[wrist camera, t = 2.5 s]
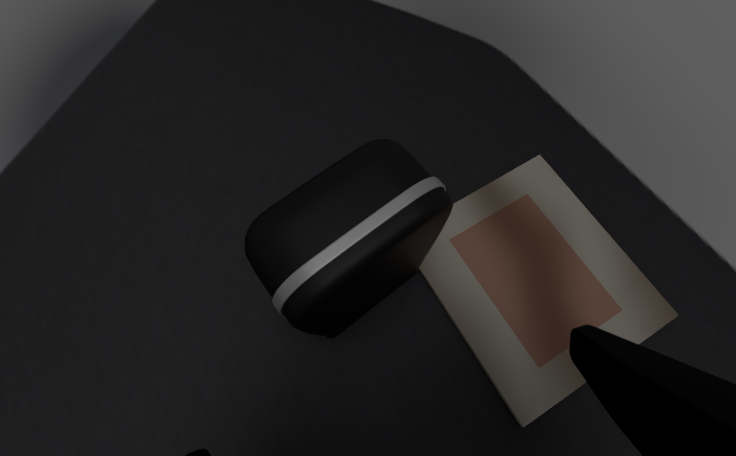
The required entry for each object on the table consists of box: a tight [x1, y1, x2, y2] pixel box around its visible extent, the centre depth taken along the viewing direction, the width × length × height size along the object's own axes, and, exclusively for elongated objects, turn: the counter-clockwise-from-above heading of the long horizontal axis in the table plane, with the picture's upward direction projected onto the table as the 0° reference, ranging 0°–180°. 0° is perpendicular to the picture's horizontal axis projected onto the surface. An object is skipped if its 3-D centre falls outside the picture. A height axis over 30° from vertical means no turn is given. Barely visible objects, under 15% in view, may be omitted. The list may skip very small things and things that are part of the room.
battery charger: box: [245, 139, 453, 339], centre depth 16 cm, size 7×4×11 cm, turn 128°
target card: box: [418, 155, 678, 428], centre depth 21 cm, size 11×12×1 cm
